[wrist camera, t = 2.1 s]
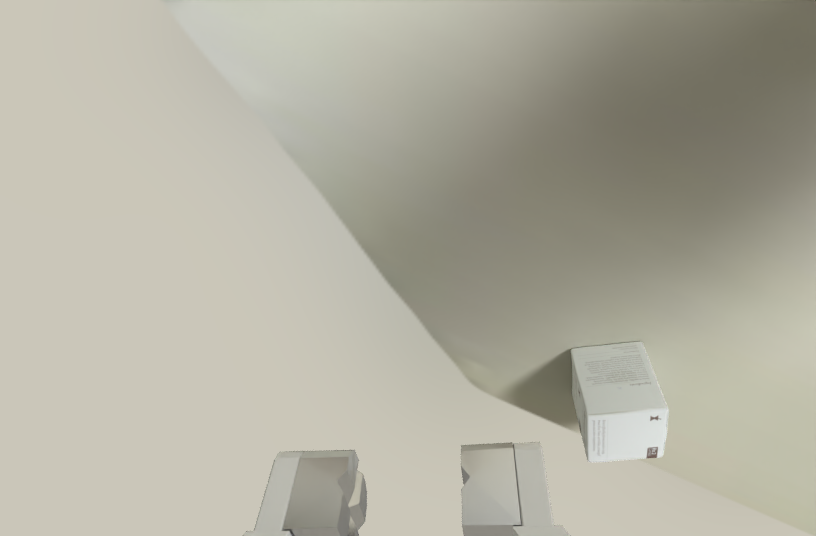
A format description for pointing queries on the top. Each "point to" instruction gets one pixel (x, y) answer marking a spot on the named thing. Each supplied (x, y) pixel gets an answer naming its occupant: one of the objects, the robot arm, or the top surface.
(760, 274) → the top surface
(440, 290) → the top surface
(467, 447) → the robot arm
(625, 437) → the skincare box
